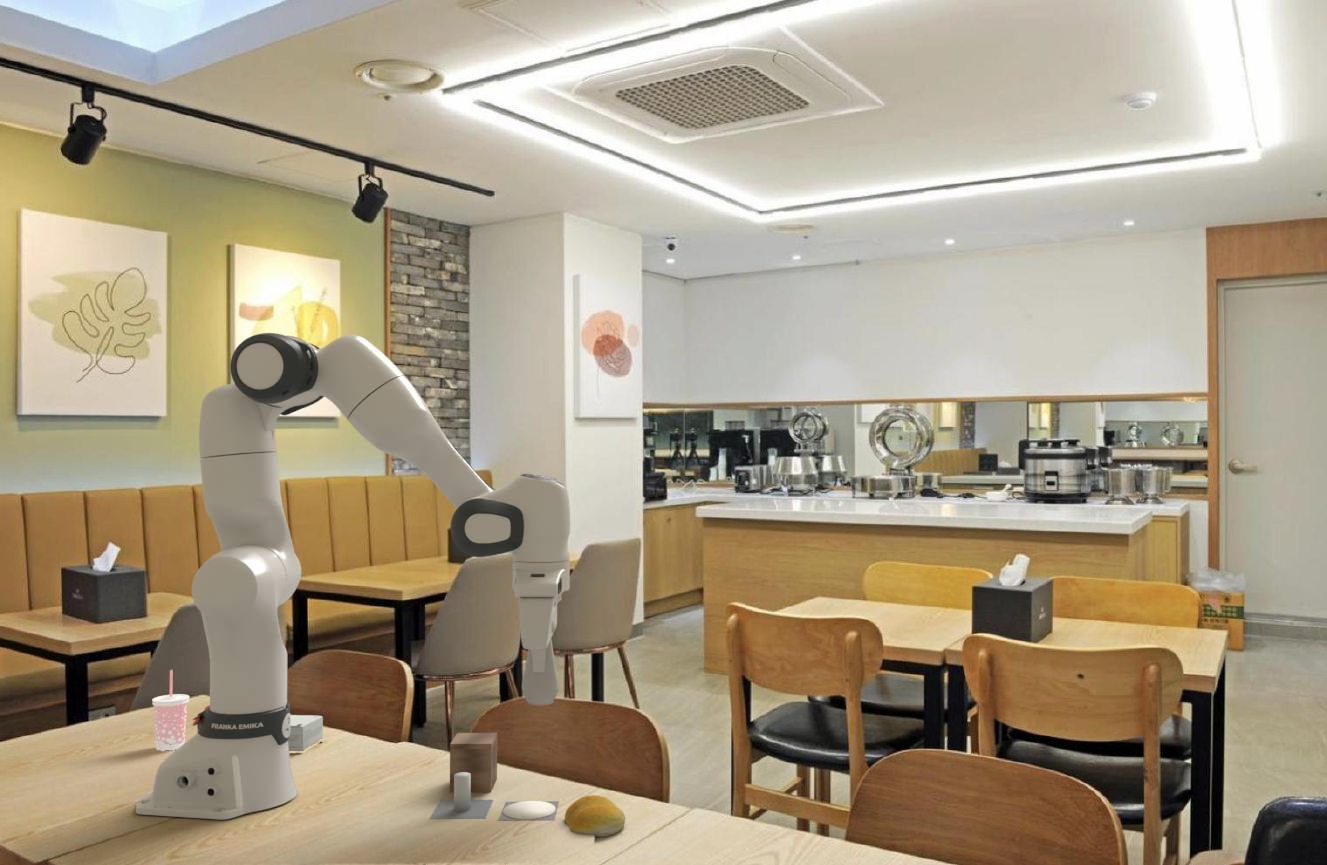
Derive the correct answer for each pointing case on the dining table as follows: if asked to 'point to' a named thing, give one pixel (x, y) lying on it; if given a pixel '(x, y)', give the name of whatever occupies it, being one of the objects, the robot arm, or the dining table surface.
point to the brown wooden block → (475, 759)
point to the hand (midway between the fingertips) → (540, 668)
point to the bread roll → (595, 816)
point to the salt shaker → (541, 678)
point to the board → (470, 814)
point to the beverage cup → (170, 719)
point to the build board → (529, 811)
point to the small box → (304, 731)
